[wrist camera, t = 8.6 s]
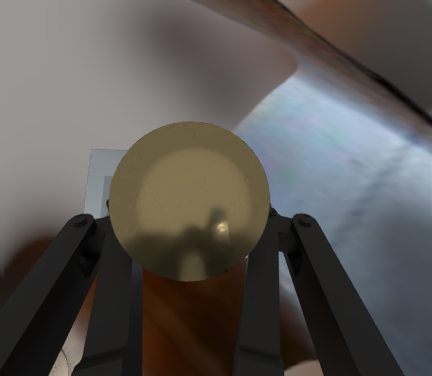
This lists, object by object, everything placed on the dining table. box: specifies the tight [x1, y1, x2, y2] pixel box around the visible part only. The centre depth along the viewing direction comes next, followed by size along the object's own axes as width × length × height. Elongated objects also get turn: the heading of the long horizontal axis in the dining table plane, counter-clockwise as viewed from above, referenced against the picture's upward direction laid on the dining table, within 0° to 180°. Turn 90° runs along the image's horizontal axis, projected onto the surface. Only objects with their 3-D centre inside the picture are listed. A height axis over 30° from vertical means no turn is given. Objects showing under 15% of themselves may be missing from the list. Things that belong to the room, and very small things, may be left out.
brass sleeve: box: [109, 122, 270, 281], centre depth 14 cm, size 6×6×12 cm
